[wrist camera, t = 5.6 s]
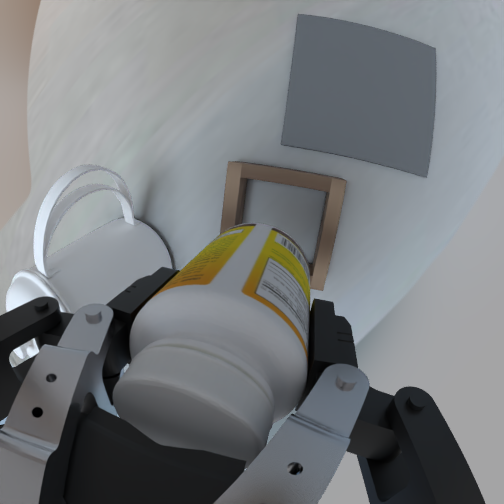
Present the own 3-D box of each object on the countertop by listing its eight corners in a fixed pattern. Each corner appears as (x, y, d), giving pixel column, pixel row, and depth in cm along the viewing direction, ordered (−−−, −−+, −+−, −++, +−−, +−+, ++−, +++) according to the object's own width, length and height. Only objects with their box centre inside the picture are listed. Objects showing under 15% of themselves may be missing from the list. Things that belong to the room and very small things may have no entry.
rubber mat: (298, 16, 19) (298, 13, 19) (433, 50, 17) (435, 48, 17) (281, 144, 24) (280, 144, 23) (424, 177, 22) (426, 177, 21)
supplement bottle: (199, 297, 15) (98, 432, 6) (220, 205, 13) (70, 301, 4) (290, 328, 15) (259, 497, 6) (326, 240, 13) (348, 409, 4)
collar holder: (236, 161, 25) (228, 161, 22) (342, 178, 24) (346, 181, 21) (225, 259, 28) (216, 269, 26) (321, 277, 27) (322, 290, 24)
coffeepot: (97, 322, 36) (14, 398, 18) (118, 149, 27) (-34, 166, 9) (159, 356, 35) (86, 457, 18) (202, 175, 26) (42, 213, 9)
